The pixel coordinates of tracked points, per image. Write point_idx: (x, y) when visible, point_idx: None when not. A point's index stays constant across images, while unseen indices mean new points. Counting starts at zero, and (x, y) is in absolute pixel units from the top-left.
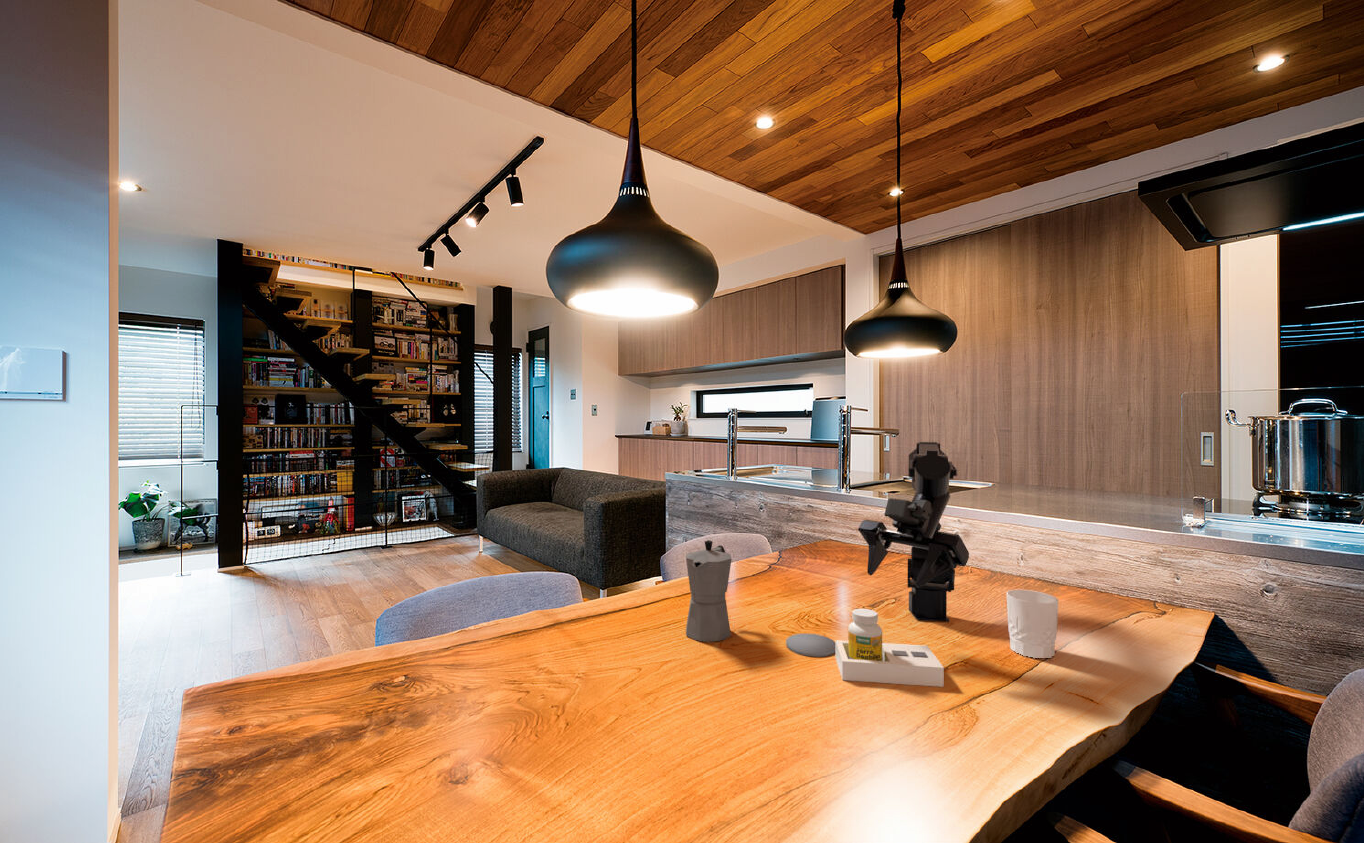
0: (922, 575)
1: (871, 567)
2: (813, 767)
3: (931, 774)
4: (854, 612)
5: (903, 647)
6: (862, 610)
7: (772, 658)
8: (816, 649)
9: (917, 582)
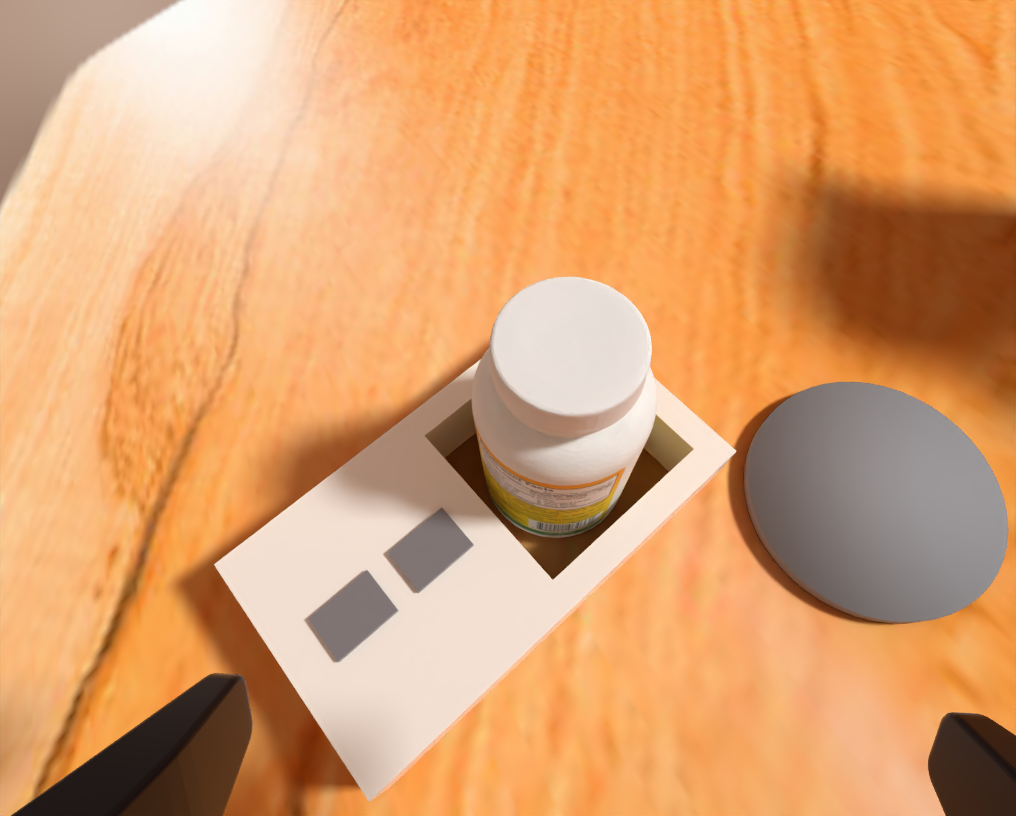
0: (92, 763)
1: (1006, 786)
2: (368, 18)
3: (165, 139)
4: (613, 296)
5: (455, 647)
6: (605, 362)
7: (843, 289)
8: (800, 449)
9: (208, 685)
